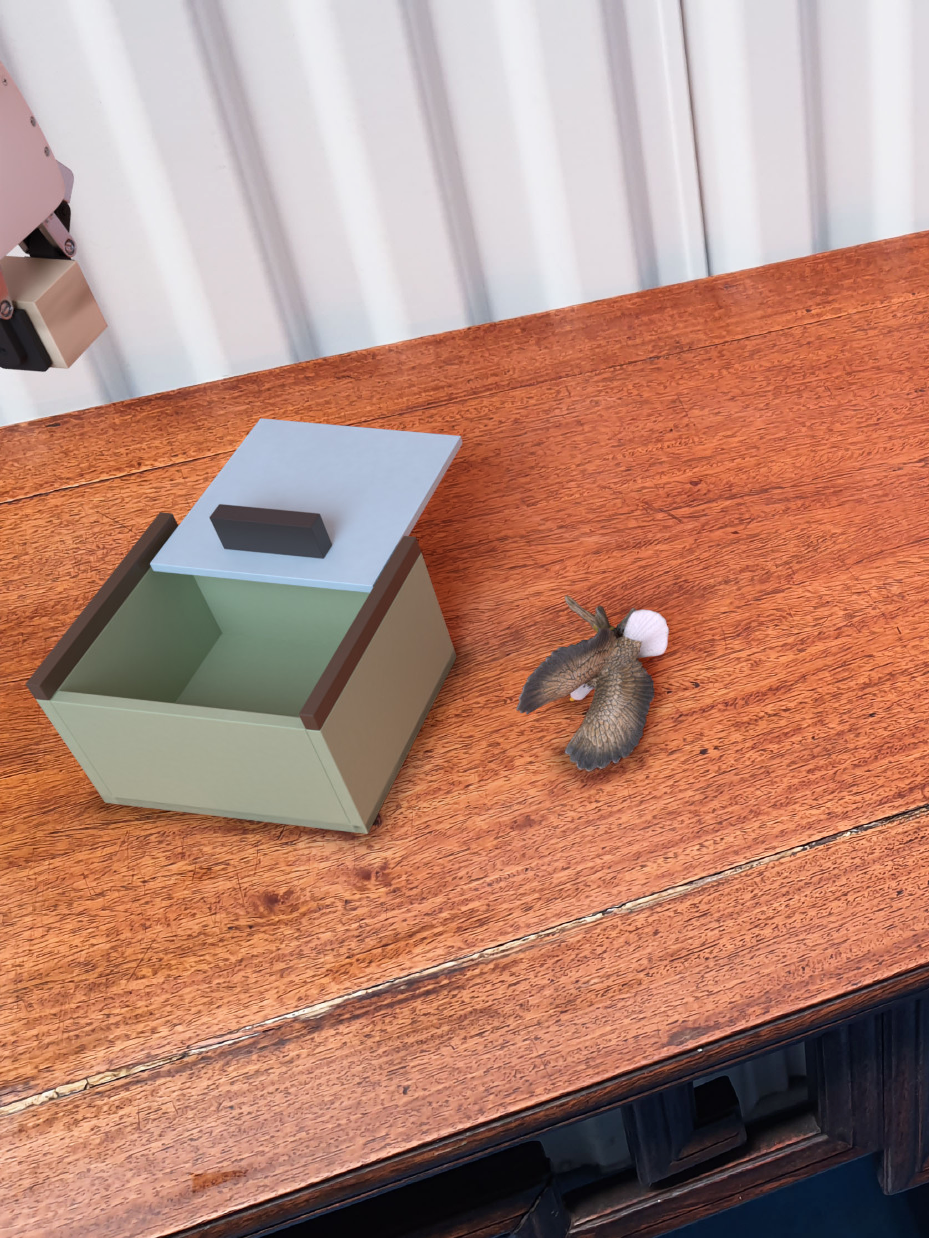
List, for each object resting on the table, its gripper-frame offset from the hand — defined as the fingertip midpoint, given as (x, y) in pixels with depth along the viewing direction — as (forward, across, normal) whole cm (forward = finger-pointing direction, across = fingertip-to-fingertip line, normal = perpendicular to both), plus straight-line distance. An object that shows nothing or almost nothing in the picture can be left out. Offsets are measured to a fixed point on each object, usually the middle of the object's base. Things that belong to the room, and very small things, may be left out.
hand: (50, 339), depth 85 cm
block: (0, 0, 0) cm, 0 cm away
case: (+15, +16, +18) cm, 28 cm away
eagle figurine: (+15, +12, +36) cm, 41 cm away
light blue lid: (+6, +6, +18) cm, 20 cm away
